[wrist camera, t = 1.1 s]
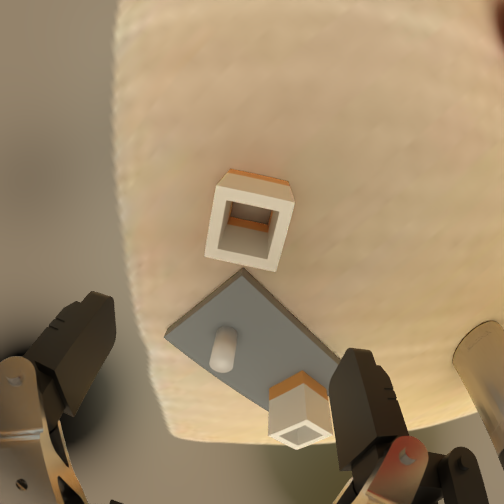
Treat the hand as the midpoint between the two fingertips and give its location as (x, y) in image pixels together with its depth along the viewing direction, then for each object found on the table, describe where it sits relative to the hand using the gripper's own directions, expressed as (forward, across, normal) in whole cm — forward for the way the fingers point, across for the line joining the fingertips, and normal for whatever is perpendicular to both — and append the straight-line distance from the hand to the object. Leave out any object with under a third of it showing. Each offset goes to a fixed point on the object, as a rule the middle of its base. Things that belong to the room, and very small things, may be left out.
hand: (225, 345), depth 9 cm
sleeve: (+18, 0, 0) cm, 18 cm away
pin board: (+18, -5, +17) cm, 25 cm away
